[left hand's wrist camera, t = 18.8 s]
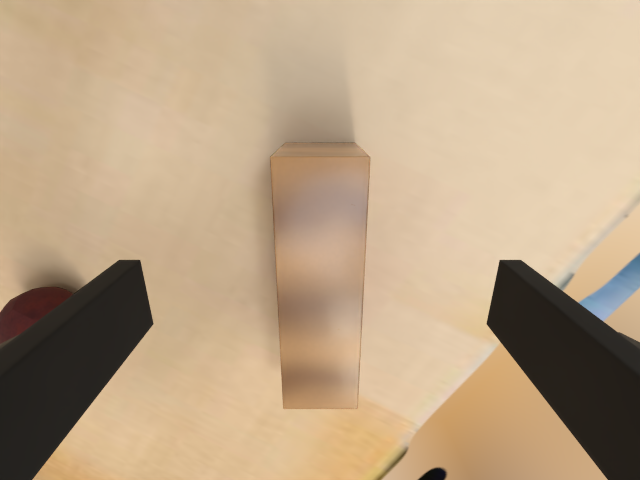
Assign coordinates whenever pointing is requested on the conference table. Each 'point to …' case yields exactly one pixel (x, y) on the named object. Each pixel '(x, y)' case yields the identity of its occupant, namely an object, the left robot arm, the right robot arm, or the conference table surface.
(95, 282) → the left robot arm
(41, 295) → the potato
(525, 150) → the conference table surface
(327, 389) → the box
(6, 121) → the conference table surface
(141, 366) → the conference table surface
